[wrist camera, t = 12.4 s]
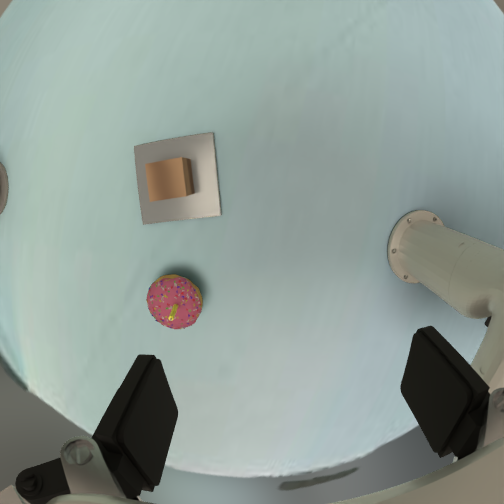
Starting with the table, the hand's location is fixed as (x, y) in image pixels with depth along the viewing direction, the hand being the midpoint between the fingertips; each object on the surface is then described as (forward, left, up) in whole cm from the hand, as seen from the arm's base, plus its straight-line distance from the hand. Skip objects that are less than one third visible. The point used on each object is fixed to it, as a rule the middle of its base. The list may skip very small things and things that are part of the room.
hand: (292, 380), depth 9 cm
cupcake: (+14, +10, -34) cm, 38 cm away
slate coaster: (+12, -7, -33) cm, 36 cm away
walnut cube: (+12, -7, -32) cm, 35 cm away
